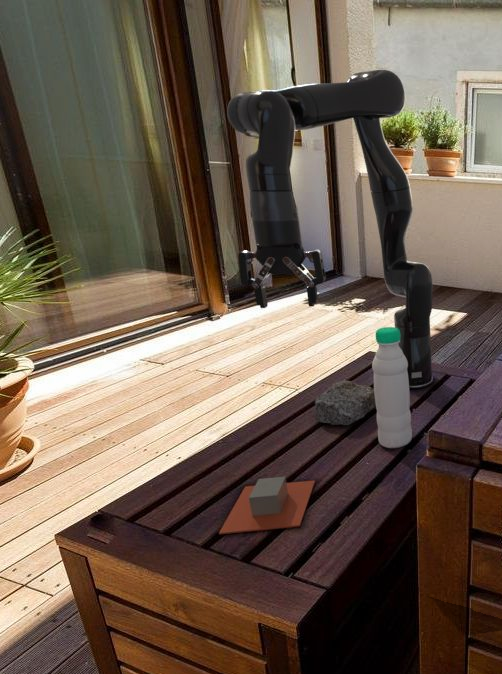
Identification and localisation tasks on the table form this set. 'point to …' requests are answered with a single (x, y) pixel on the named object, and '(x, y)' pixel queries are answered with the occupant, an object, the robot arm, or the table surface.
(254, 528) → the mat
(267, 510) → the cube
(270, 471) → the table surface
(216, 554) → the table surface
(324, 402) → the rock
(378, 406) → the water bottle
